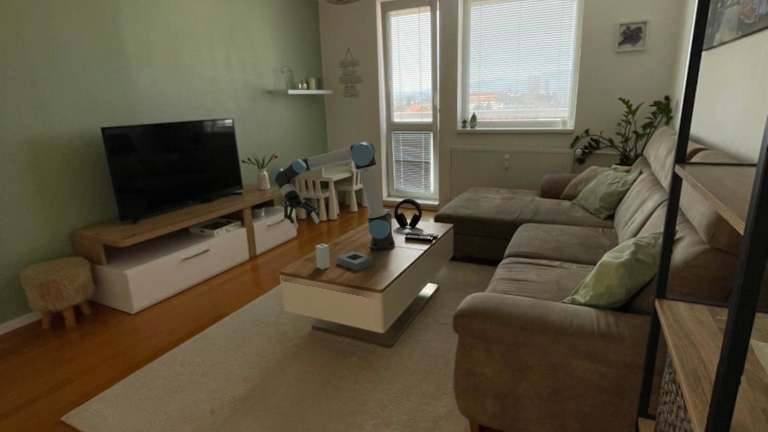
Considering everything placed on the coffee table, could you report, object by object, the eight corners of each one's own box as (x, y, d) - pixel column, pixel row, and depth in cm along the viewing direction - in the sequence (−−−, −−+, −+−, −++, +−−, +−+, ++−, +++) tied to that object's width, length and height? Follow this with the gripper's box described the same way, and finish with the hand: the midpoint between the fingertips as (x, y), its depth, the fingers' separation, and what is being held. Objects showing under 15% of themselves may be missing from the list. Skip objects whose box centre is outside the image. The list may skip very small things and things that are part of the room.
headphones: (394, 228, 295) (393, 200, 290) (396, 225, 301) (396, 198, 296) (420, 229, 290) (420, 201, 285) (422, 227, 296) (422, 199, 291)
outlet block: (336, 263, 232) (336, 256, 231) (353, 257, 240) (353, 251, 239) (356, 270, 221) (356, 263, 220) (373, 264, 229) (373, 257, 228)
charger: (316, 267, 227) (315, 245, 224) (324, 264, 231) (322, 243, 228) (322, 269, 224) (321, 247, 221) (330, 266, 227) (328, 245, 224)
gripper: (305, 194, 246) (323, 224, 240) (267, 201, 229) (285, 233, 223) (310, 186, 241) (328, 216, 235) (272, 193, 224) (290, 225, 218)
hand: (307, 225), depth 229 cm, fingers open, 13 cm apart
